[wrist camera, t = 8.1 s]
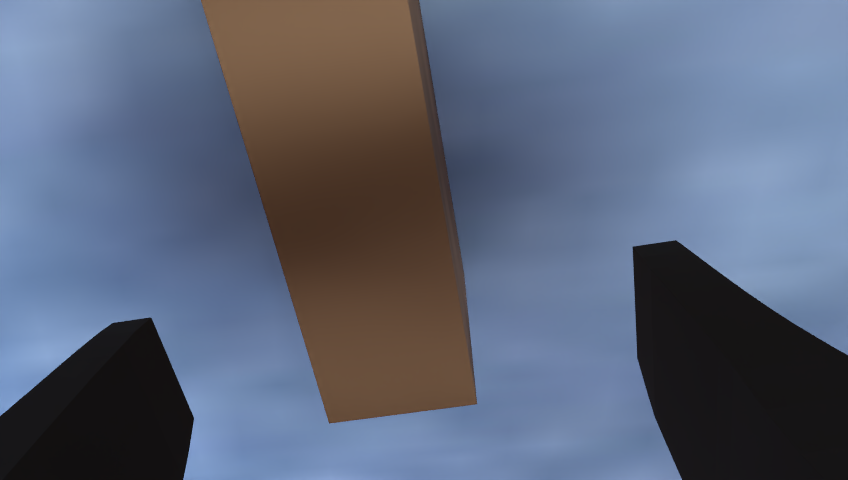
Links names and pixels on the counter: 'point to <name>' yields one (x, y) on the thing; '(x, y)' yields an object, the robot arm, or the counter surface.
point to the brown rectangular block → (354, 195)
